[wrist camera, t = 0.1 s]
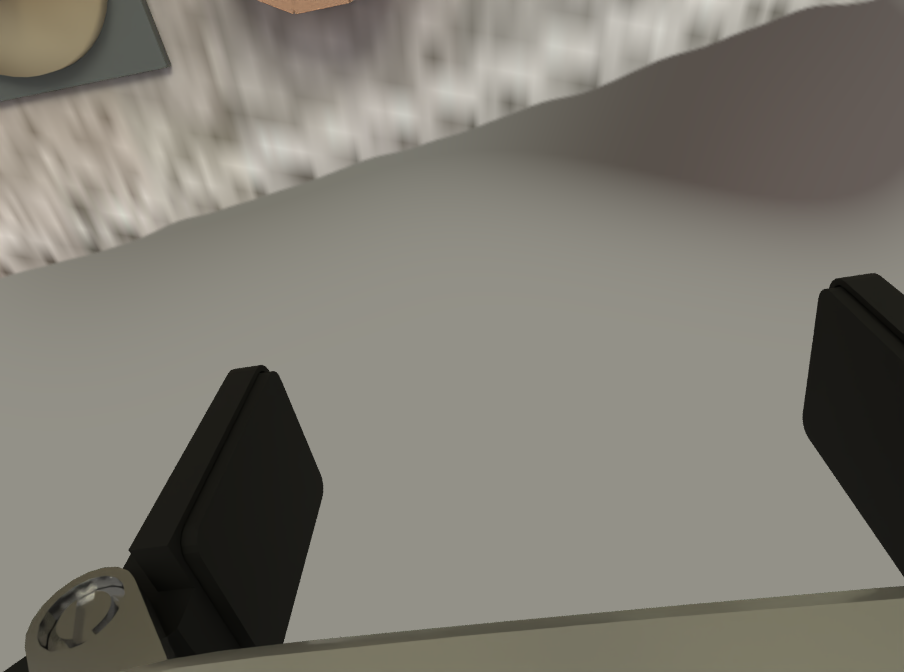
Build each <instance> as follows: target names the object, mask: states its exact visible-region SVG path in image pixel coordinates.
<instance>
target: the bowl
mask: <svg viewBox="0 0 904 672" xmlns="http://www.w3.org/2000/svg"><path fill="white" fill-rule="evenodd" d="M258 1H260V2H263V3H265V4H268V5H271V6H273V7H276V8H278V9H281V10H284V11H286V12H289V13H291V14H294V13H295V14H299V13H304V12H309V11H314V10H318V9H323V8H328V7H333V6H337V5H342V4H347V3H350V2H352V1H354V0H258Z"/></svg>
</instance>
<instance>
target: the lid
mask: <svg viewBox="0 0 904 672" xmlns="http://www.w3.org/2000/svg"><path fill="white" fill-rule="evenodd" d="M107 2H108V0H0V75H6V76H12V77H32V76H40V75H44V74H47V73H50V72H54V71H57V70H60V69H64V68H66V67H68V66H70V65H72V64H74V63H75V62H76V61H78V60H79V59H80V58H82V57H83V56H84V55H85V54H86V53H87V52H88V51H89V50H90V49H91V47H92V46H93V44H94V43H95V41H96V40H97V38H98V36H99V34H100V31H101V29H102V27H103V23H104V19H105V16H106V10H107Z"/></svg>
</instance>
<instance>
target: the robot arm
mask: <svg viewBox="0 0 904 672" xmlns="http://www.w3.org/2000/svg"><path fill="white" fill-rule="evenodd" d="M803 425H804V429H805V432H806V434H807V436H808V438H809V439H810V441H811V442H812V444H813V445H814V447H815V448H816V450H817V451H818V452H819V454H820V455H821V457H822V458H823V460H824V461H825V463H826V464H827V466H828V467H829V469H830V470H831V471H832V473H833V474H834V476H835V477H836V479H837V480H838V482H839V483H840V485H841V486H842V487H843V489H844V490H845V492H846V493H847V495H848V496H849V498H850V499H851V501H852V502H853V503H854V505H855V506H856V508H857V509H858V511H859V512H860V514H861V515H862V517H863V518H864V519H865V521H866V522H867V524H868V525H869V527H870V528H871V530H872V531H873V532H874V534H875V536H876V537H877V538H878V540H879V541H880V543H881V544H882V546H883V547H884V549H885V550H886V552H887V553H888V555H889V556H890V557H891V559H892V560H893V562H894V563H895V565H896V566H897V568H898V569H899V571H900V572H901V573H902V575H903V576H904V295H903V294H902V293H901V292H900V291H898V290H897V289H896V288H895V287H894V286H892V285H891V284H890V283H889V282H887V281H886V280H885V279H884V278H882V277H881V276H880V275H878V274H875V273H870V274H864V275H857V276H851V277H843V278H837V279H835V280H833V281H832V283H831V284H830V287H829V289H824V290H822V291H821V293H820V295H819V298H818V306H817V313H816V320H815V328H814V336H813V343H812V350H811V357H810V364H809V372H808V379H807V387H806V395H805V402H804V409H803ZM322 496H323V482H322V477H321V474H320V472H319V470H318V467H317V465H316V462H315V460H314V458H313V455H312V453H311V451H310V448H309V446H308V443H307V441H306V438H305V436H304V434H303V431H302V429H301V427H300V424H299V422H298V419H297V417H296V414H295V412H294V410H293V407H292V405H291V403H290V400H289V398H288V396H287V393H286V391H285V388H284V386H283V383H282V381H281V379H280V377H279V375H278V374H277V372H275V371H271V372H269V370H268V369H267V368H266V367H265V366H263V365H258V366H251V367H245V368H238V369H233V370H231V371H230V372H229V373H228V375H227V377H226V378H225V380H224V382H223V384H222V385H221V387H220V389H219V391H218V392H217V394H216V396H215V398H214V400H213V401H212V403H211V405H210V407H209V408H208V410H207V412H206V414H205V415H204V417H203V419H202V421H201V423H200V425H199V426H198V428H197V430H196V432H195V433H194V435H193V437H192V439H191V441H190V442H189V444H188V446H187V447H186V449H185V451H184V453H183V454H182V456H181V458H180V460H179V462H178V463H177V465H176V467H175V469H174V470H173V472H172V474H171V476H170V477H169V479H168V481H167V483H166V485H165V486H164V488H163V490H162V492H161V493H160V495H159V497H158V499H157V500H156V502H155V504H154V506H153V508H152V509H151V511H150V513H149V515H148V516H147V518H146V520H145V522H144V524H143V525H142V527H141V529H140V531H139V532H138V534H137V536H136V538H135V539H134V541H133V543H132V545H131V547H130V548H129V551H130V553H131V555H130V557H129V558H128V560H127V562H126V564H125V566H124V567H123V569H122V568H119V567H105V568H101V569H98V570H94V571H91V572H88V573H86V574H84V575H82V576H80V577H78V578H76V579H74V580H72V581H71V582H70V583H68V584H67V585H65V586H64V587H63V588H61V589H60V590H58V591H57V592H56V593H55V594H54V595H53V596H52V597H51V598H50V599H49V600H48V601H47V602H46V603H45V604H44V605H43V606H42V607H41V609H40V610H39V611H38V613H37V614H36V616H35V617H34V618H33V620H32V622H31V624H30V626H29V629H28V631H27V633H26V640H25V651H26V656H25V657H24V658H22V659H21V660H20V661H18V662H17V663H15V664H14V665H12V666H11V667H10V668H8V669H7V670H5V671H4V672H904V586H900V587H885V588H872V589H861V590H849V591H838V592H828V593H815V594H803V595H792V596H780V597H769V598H757V599H747V600H735V601H724V602H712V603H700V604H689V605H678V606H667V607H656V608H646V609H635V610H623V611H612V612H602V613H590V614H580V615H569V616H558V617H548V618H538V619H526V620H516V621H504V622H494V623H483V624H473V625H462V626H452V627H442V628H432V629H422V630H411V631H401V632H391V633H381V634H371V635H360V636H350V637H340V638H330V639H320V640H311V641H302V642H293V643H285V644H283V642H284V639H285V634H286V631H287V627H288V624H289V620H290V616H291V612H292V608H293V605H294V601H295V597H296V594H297V590H298V586H299V583H300V579H301V575H302V571H303V568H304V564H305V559H306V556H307V553H308V549H309V545H310V541H311V538H312V534H313V530H314V526H315V523H316V519H317V515H318V511H319V508H320V504H321V500H322Z"/></svg>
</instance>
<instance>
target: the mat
mask: <svg viewBox="0 0 904 672" xmlns="http://www.w3.org/2000/svg"><path fill="white" fill-rule="evenodd" d="M170 66H171V64H170V61H169V58H168V56H167V53H166V51H165V48H164V46H163V43H162V41H161V38H160V36H159V33H158V30H157V28H156V25H155V23H154V20H153V18H152V15H151V13H150V10H149V8H148V5H147V2H146V0H108V2H107V10H106V16H105V19H104V23H103V27H102V29H101V31H100V34H99V36H98V38H97V40H96V41H95V43H94V44H93V46H92V47H91V49H90V50H89V51H88V52H87V53H86V54H85V55H84V56H83V57H82V58H80V59H79V60H78V61H76V62H75V63H74V64H72V65H70V66H68V67H66V68H64V69H60V70H57V71H54V72H50V73H47V74H44V75H40V76H32V77H12V76H6V75H0V102H1V101H6V100H11V99H16V98H21V97H25V96H30V95H35V94H40V93H45V92H50V91H55V90H60V89H64V88H69V87H74V86H79V85H84V84H89V83H94V82H99V81H103V80H108V79H113V78H118V77H123V76H128V75H133V74H138V73H142V72H147V71H152V70H157V69H162V68H167V67H170Z"/></svg>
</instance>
